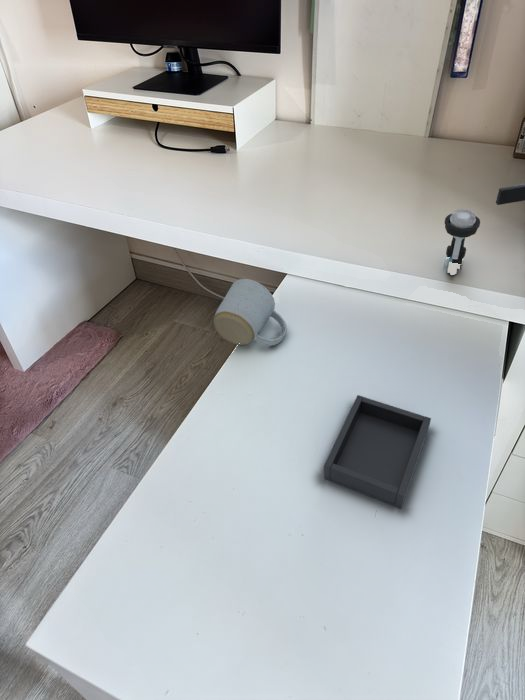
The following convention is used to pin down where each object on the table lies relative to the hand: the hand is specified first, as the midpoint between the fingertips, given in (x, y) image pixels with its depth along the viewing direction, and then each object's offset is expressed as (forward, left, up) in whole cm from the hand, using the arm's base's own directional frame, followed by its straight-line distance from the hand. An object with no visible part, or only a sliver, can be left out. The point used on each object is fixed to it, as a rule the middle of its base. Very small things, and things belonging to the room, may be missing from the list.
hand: (517, 218), depth 81 cm
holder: (+8, +45, -8) cm, 47 cm away
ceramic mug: (+33, +31, -8) cm, 46 cm away
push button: (+8, +5, -8) cm, 12 cm away
